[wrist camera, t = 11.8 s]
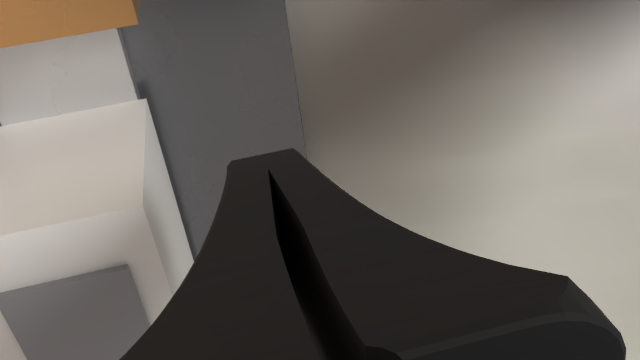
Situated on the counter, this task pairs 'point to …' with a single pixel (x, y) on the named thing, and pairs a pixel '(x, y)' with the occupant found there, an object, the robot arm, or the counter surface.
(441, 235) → the counter surface
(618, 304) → the counter surface
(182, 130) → the rail plate
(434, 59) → the counter surface
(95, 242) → the block
